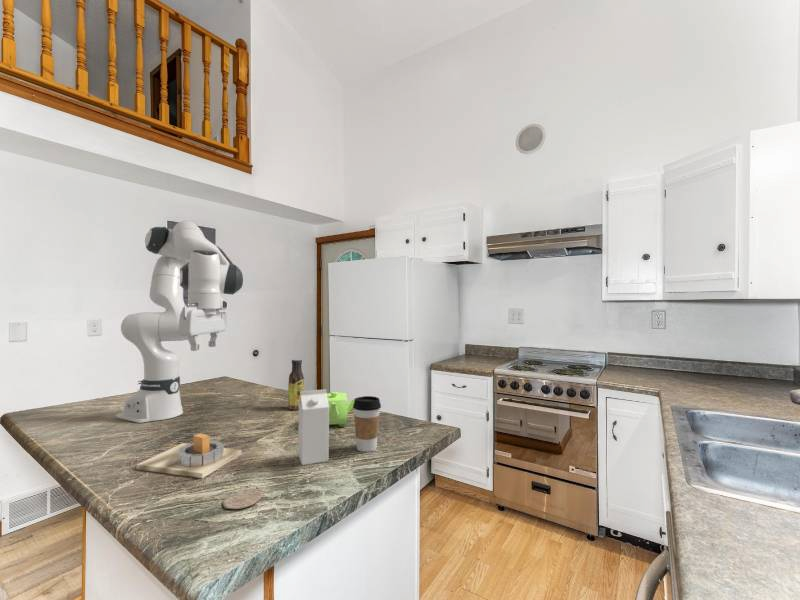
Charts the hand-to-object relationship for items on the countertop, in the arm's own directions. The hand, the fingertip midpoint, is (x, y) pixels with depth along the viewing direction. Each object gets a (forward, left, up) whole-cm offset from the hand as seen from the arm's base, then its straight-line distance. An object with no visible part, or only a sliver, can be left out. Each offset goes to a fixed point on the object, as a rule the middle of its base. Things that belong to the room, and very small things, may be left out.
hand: (204, 348), depth 114 cm
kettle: (+30, +28, -29) cm, 50 cm away
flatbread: (+32, -25, -30) cm, 50 cm away
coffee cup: (+49, +10, -29) cm, 58 cm away
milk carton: (+37, -1, -29) cm, 47 cm away
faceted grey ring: (+9, -11, -28) cm, 31 cm away
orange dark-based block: (+9, -11, -28) cm, 31 cm away
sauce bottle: (+8, +42, -29) cm, 52 cm away
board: (+6, -11, -29) cm, 32 cm away
